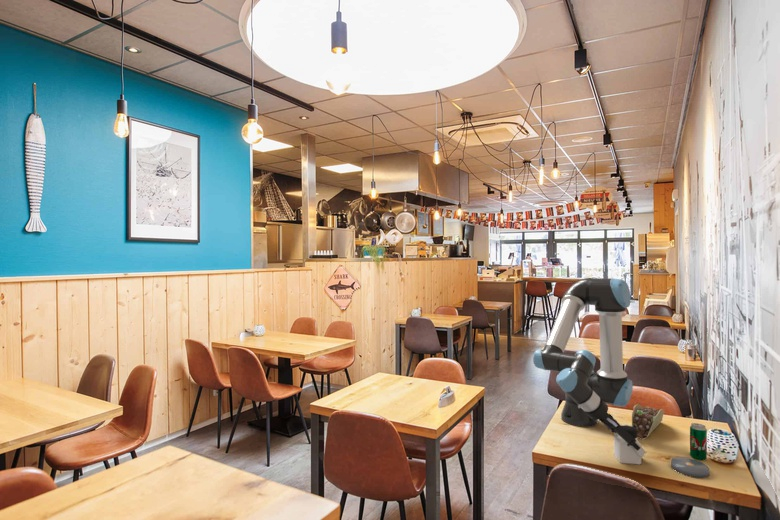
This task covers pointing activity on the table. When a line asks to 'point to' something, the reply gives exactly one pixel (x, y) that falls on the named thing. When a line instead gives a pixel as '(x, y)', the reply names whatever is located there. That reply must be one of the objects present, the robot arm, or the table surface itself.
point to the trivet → (690, 467)
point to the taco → (645, 420)
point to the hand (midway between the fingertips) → (636, 449)
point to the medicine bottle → (626, 447)
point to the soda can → (698, 441)
